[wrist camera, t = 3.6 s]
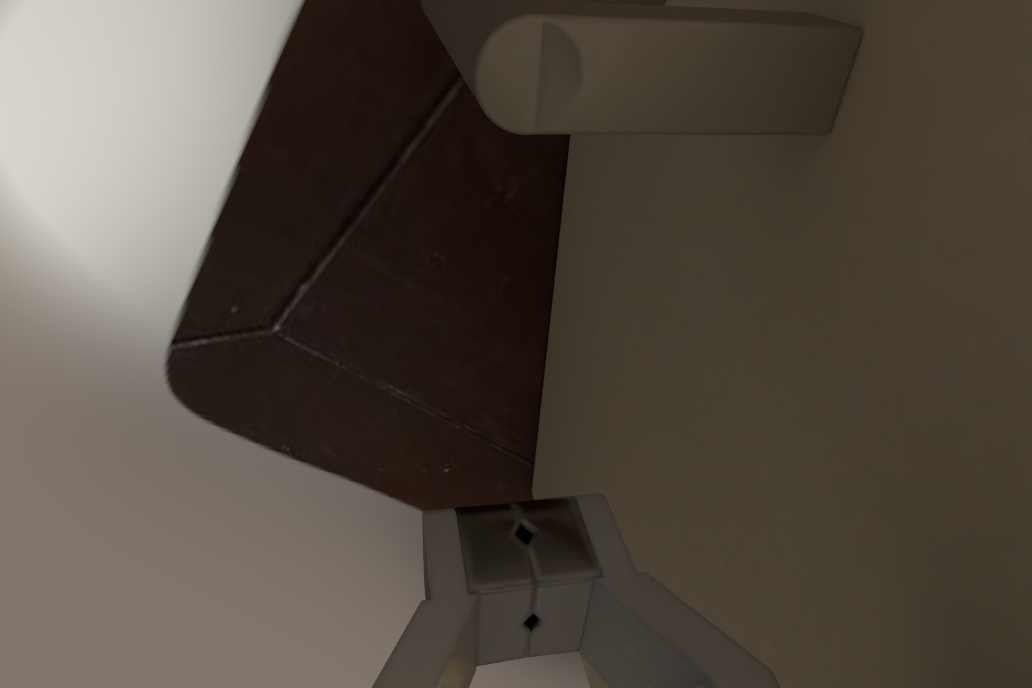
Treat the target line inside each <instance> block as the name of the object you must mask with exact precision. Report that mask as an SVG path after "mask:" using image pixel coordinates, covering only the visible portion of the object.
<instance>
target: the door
mask: <svg viewBox="0 0 1032 688" xmlns="http://www.w3.org/2000/svg"><path fill="white" fill-rule="evenodd" d="M420 3H421V6H422V8H423V11H424V13H425V14H426V16H427V18H428V19H429V21H430V23H431V24H432V26H433V28H434V29H435V31H436V33H437V34H438V36H439V38H440V39H441V41H442V43H443V44H444V46H445V48H446V49H447V51H448V53H449V55H450V56H451V58H452V60H453V61H454V63H455V65H456V66H457V68H458V70H459V71H460V73H461V75H462V76H463V78H464V80H465V81H466V83H467V85H468V86H469V88H470V90H471V91H472V93H473V95H474V96H475V98H476V100H477V101H478V103H479V105H480V106H481V108H482V110H483V111H484V113H485V114H486V115H487V117H488V118H489V119H490V120H491V121H492V122H493V123H494V124H496V125H497V126H499V127H500V128H502V129H504V130H506V131H508V132H511V133H515V134H520V135H533V134H570V143H569V152H568V162H567V171H566V180H565V189H564V198H563V208H562V217H561V226H560V235H559V245H558V254H557V263H556V272H555V281H554V291H553V300H552V309H551V318H550V327H549V337H548V346H547V355H546V364H545V374H544V383H543V392H542V401H541V410H540V420H539V429H538V438H537V447H536V456H535V466H534V475H533V484H532V494H533V497H534V500H539V499H548V498H556V497H565V496H571V497H572V496H577V495H587V494H596V493H602V494H603V495H604V496H605V497H606V499H607V501H608V504H609V506H610V508H611V511H612V513H613V516H614V518H615V520H616V523H617V525H618V528H619V530H620V533H621V535H622V537H623V540H624V542H625V545H626V547H627V549H628V552H629V554H630V557H631V559H632V561H633V564H634V566H635V569H636V571H637V573H639V572H647V573H648V574H649V575H650V576H652V577H653V578H654V579H656V580H657V581H658V582H659V583H661V584H662V585H663V586H665V587H666V588H667V589H668V590H670V591H671V592H672V593H674V594H675V595H676V596H677V597H679V598H680V599H681V600H683V601H684V602H685V603H686V604H688V605H689V606H690V607H692V608H693V609H694V610H695V611H697V612H698V613H699V614H701V615H702V616H703V617H704V618H706V619H707V620H708V621H710V622H711V623H712V624H713V625H715V626H716V627H717V628H719V629H720V630H721V631H722V632H724V633H725V634H726V635H727V636H729V637H730V638H731V639H733V640H734V641H735V642H736V643H738V644H739V645H740V646H742V647H743V648H744V649H745V650H747V651H748V652H749V653H751V654H752V655H753V656H754V657H756V658H757V659H758V660H760V661H761V662H762V663H763V664H765V665H766V666H767V667H769V668H770V669H771V670H772V672H773V674H774V676H775V678H776V680H777V681H778V683H779V685H780V687H781V688H1032V0H420ZM581 657H582V656H581ZM582 661H583V664H584V668H585V671H586V674H587V678H588V681H589V684H590V687H591V688H610V687H609V686H608V684H607V683H606V682H605V681H604V680H603V679H602V678H601V677H600V676H599V674H598V673H597V672H596V671H595V670H594V669H593V668H592V667H591V666H590V664H589V663H588V662H587V661H586V660H585V659H584V658H583V657H582Z"/></svg>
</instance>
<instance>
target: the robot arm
mask: <svg viewBox="0 0 1032 688" xmlns="http://www.w3.org/2000/svg"><path fill="white" fill-rule="evenodd" d="M422 515H423V558H424V559H423V560H424V583H425V597H426V600H423V601H421V603H420V604H419V606H418V608H417V610H416V611H415V613H414V615H413V617H412V618H411V621H410V622H409V624H408V625H407V627H406V629H405V631H404V633H403V634H402V636H401V638H400V639H399V641H398V643H397V645H396V646H395V648H394V650H393V652H392V654H391V655H390V657H389V659H388V661H387V662H386V664H385V666H384V667H383V669H382V671H381V673H380V674H379V676H378V678H377V680H376V681H375V683H374V685H373V687H372V688H469V686H470V684H471V681H472V678H473V676H474V674H475V671H476V666H480V665H487V664H492V663H498V662H503V661H509V660H514V659H520V658H526V657H533V656H542V655H550V654H558V653H566V652H574V651H580V655H581V656H582V657H583V658H584V659H585V660H586V661H587V662H588V663H589V664H590V666H591V667H592V668H593V669H594V670H595V671H596V672H597V673H598V674H599V676H600V677H601V678H602V679H603V680H604V681H605V682H606V683H607V684H608V686H609V687H610V688H781V687H780V685H779V683H778V681H777V680H776V678H775V676H774V674H773V672H772V670H771V669H770V668H769V667H767V666H766V665H765V664H763V663H762V662H761V661H760V660H758V659H757V658H756V657H754V656H753V655H752V654H751V653H749V652H748V651H747V650H745V649H744V648H743V647H742V646H740V645H739V644H738V643H736V642H735V641H734V640H733V639H731V638H730V637H729V636H727V635H726V634H725V633H724V632H722V631H721V630H720V629H719V628H717V627H716V626H715V625H713V624H712V623H711V622H710V621H708V620H707V619H706V618H704V617H703V616H702V615H701V614H699V613H698V612H697V611H695V610H694V609H693V608H692V607H690V606H689V605H688V604H686V603H685V602H684V601H683V600H681V599H680V598H679V597H677V596H676V595H675V594H674V593H672V592H671V591H670V590H668V589H667V588H666V587H665V586H663V585H662V584H661V583H659V582H658V581H657V580H656V579H654V578H653V577H652V576H650V575H649V574H648V573H647V572H639V573H637V571H636V569H635V566H634V564H633V561H632V559H631V557H630V554H629V552H628V549H627V547H626V545H625V542H624V540H623V537H622V535H621V533H620V530H619V528H618V525H617V523H616V520H615V518H614V516H613V513H612V511H611V508H610V506H609V504H608V501H607V499H606V497H605V496H604V495H603V494H602V493H596V494H587V495H577V496H572V497H571V496H565V497H556V498H548V499H539V500H530V501H522V502H514V503H510V504H497V505H484V506H472V507H459V508H455V510H454V508H451V509H439V510H427V511H423V514H422Z"/></svg>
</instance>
